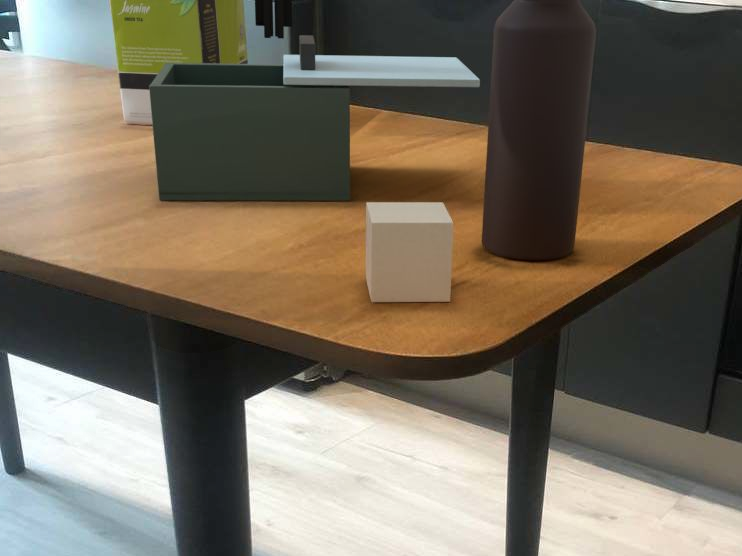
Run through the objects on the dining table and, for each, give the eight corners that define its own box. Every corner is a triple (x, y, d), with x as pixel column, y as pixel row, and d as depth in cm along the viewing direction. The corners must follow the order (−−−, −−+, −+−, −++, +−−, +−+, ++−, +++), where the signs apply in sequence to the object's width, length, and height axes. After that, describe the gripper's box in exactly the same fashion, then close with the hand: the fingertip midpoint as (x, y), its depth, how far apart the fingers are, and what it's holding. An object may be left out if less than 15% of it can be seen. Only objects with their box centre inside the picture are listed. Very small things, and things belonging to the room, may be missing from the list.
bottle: (582, 263, 76) (616, -59, 66) (486, 262, 76) (506, -62, 66) (565, 237, 82) (594, -62, 72) (476, 235, 82) (493, -65, 72)
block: (371, 302, 68) (371, 222, 65) (365, 278, 72) (366, 202, 70) (450, 302, 68) (453, 222, 66) (440, 277, 73) (443, 202, 70)
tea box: (171, 102, 130) (160, -37, 122) (252, 107, 128) (246, -33, 121) (120, 124, 117) (104, -30, 109) (209, 129, 115) (199, -26, 108)
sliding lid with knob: (283, 84, 85) (282, 49, 84) (283, 61, 97) (282, 30, 96) (479, 87, 87) (481, 52, 85) (456, 64, 98) (457, 33, 97)
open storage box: (159, 200, 89) (148, 85, 84) (173, 164, 100) (165, 62, 96) (350, 201, 90) (349, 88, 86) (342, 165, 102) (341, 65, 97)
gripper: (160, -246, 76) (178, 38, 85) (372, -233, 78) (367, 44, 87) (170, -234, 83) (185, 29, 92) (365, -222, 84) (362, 35, 93)
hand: (274, 36), depth 89 cm, fingers closed
